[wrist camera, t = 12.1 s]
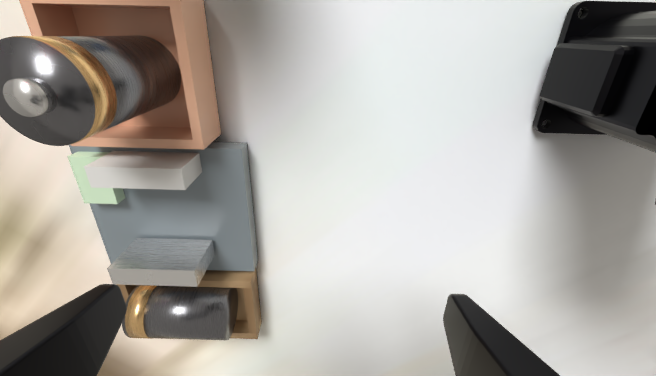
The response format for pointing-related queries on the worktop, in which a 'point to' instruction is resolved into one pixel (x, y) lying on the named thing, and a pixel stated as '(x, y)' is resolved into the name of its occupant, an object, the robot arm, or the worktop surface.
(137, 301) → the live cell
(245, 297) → the trough
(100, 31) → the salmon pink square tray
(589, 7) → the robot arm
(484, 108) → the worktop surface
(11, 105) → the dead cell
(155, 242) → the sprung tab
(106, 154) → the grey flat block
